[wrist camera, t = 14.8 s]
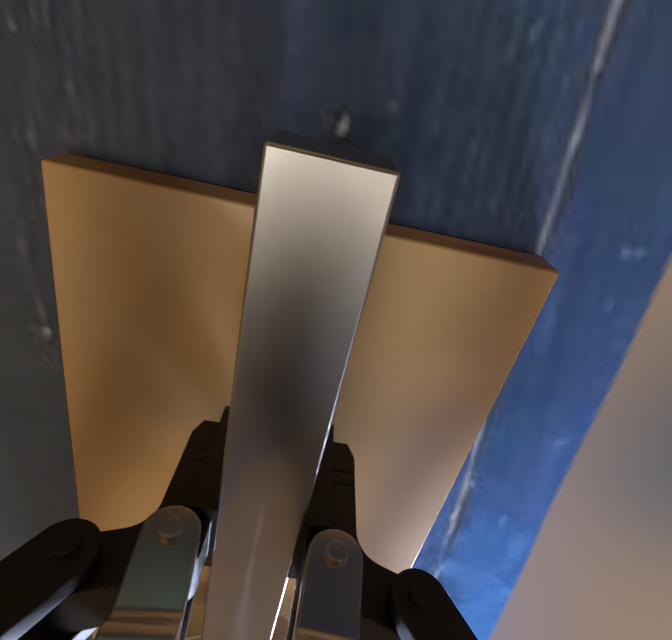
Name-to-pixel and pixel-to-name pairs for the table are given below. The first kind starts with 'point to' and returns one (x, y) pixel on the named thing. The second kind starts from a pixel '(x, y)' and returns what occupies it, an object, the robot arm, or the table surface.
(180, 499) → the robot arm
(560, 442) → the table surface
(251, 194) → the board
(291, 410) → the ladle
